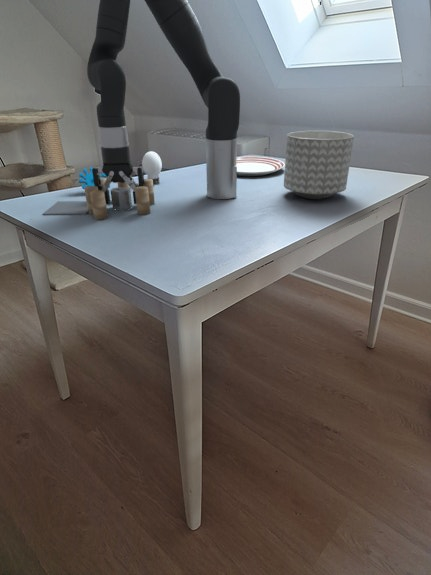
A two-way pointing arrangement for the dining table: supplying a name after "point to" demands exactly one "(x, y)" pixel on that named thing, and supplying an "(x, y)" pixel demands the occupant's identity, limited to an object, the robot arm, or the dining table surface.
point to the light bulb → (152, 166)
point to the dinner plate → (257, 165)
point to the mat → (68, 208)
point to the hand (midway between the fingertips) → (122, 203)
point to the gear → (88, 178)
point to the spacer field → (142, 193)
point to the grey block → (121, 198)
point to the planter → (317, 163)
